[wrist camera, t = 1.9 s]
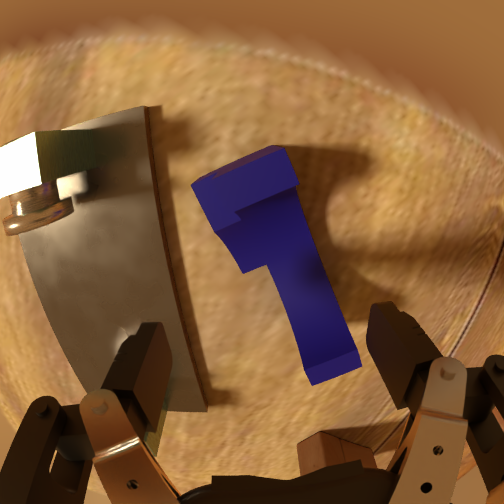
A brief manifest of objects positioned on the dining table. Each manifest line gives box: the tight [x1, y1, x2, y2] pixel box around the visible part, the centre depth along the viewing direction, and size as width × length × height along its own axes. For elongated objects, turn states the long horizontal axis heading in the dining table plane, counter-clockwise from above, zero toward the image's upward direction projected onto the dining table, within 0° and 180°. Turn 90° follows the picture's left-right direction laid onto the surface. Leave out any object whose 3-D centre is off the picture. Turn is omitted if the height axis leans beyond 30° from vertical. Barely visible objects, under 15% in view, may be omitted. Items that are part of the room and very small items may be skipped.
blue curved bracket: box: [191, 145, 362, 386], centre depth 15 cm, size 12×4×6 cm, turn 24°
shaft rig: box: [0, 106, 208, 457], centre depth 16 cm, size 12×24×6 cm, turn 5°
